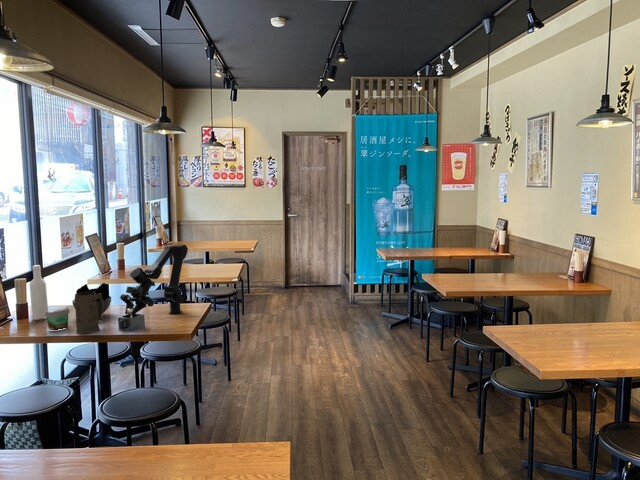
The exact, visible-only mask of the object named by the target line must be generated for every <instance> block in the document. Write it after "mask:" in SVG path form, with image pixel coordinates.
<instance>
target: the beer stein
mask: <svg viewBox="0 0 640 480" xmlns="http://www.w3.org/2000/svg"><path fill="white" fill-rule="evenodd" d="M74 299H75V303H76V307H75V308H74V310H75V324H76V330H75V331H76V334H78V333H79V334H80V335H88V333H90V334H93V332H94V333H97V332H99V331H100V326H99V325H100V322H103V321H104V318H103V314H104V313H103V310H104V301H103V298H102V293H99V294H98V295H96V293H95V292H81V293H76V292H75V294H74ZM96 299H99V302H100V310H99V315H98V305H97V300H96ZM102 313H103V314H102ZM79 334H78V335H79Z"/></svg>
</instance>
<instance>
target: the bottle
mask: <svg viewBox="0 0 640 480" xmlns="http://www.w3.org/2000/svg"><path fill="white" fill-rule="evenodd" d="M41 269H42V268H41V265H40V264H35V265H32V274H33V279H32V280H31V281H30V283H29V290H30V301H31V302H30V303H31V312H32V315H31V316H32V319H33V318H34V319H40V318H46V316H45V313H46V312H49V305H48V294H47V293H48V291H47V283H46V281H45V279H43V277H42V272H41Z"/></svg>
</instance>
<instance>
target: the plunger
mask: <svg viewBox="0 0 640 480" xmlns="http://www.w3.org/2000/svg"><path fill="white" fill-rule="evenodd" d="M133 309H134V307H133V308H127V314H130V318H133V316H132V311H133Z"/></svg>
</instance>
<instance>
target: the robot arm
mask: <svg viewBox="0 0 640 480" xmlns="http://www.w3.org/2000/svg"><path fill="white" fill-rule="evenodd" d="M188 250H189V249H188V247H187V245H186V244H178V243H177V244H173V245H165V246H164V249H163V250H162V252H161V253H160V255H158V257H157V258H156V260H155V261H154V262H153V263H152V264H150V265H148V266H147V267H146V268H145V270H143V268H142V267H138V266H137V268H135V269H134V270H133V271H131V272H130V274H129V275H130V278H131V279H132V280H133V281H134V282H136V284H139V285H136V286H135V287H134V286H127V287H126V291H125V293H122V294H121V295H120V297H119V299H120V300H121V301H123V302H124V304H125V305H126V306H125V310H124V315H126V314H127V308H134V309H133V311H132V315H134V314H138V312H140V311H141V310H143V309H144V308H147V307H153V306H154V304H155V301H154V300H153V299H152V298H151V297H150V296H149V294H150V293H149V291H150V289H151V288H152V287H155V286H156V283H155V280H157V279H159V278H160V276H161V274H162V272H163V267H164V266H165V265H166V264H167V262H168V261H169V259H170V257H172V259H173V261H172V267H171V273H170V278H169V284H168V286H165V287H164V291H163V297H164V299H165V302H166V303H169V312H168V314H169V315H177V314H182V308H181V304H182V303H184V300H185V298H184V297H183V296H182V294H181V288H180V285H179V283H180V279H181V278H180V277H181V272H182V267H183V261H184V259H185V258H186V257H187V255H188V252H189V251H188ZM134 302H135V304H134Z"/></svg>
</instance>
